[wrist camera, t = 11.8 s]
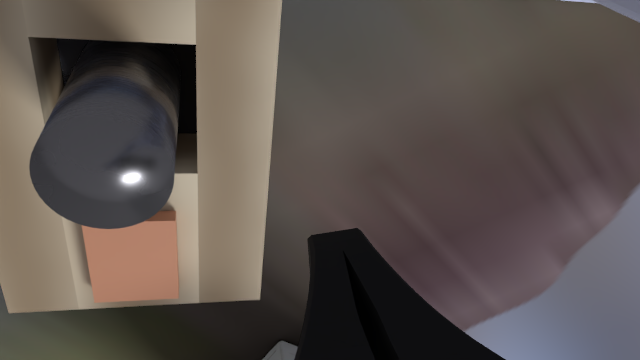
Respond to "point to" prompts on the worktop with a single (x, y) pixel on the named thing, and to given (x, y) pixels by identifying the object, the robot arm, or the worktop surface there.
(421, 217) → the worktop surface
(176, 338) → the worktop surface
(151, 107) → the steel peg
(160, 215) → the latch flap
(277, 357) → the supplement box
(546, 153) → the worktop surface
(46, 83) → the hitch block
